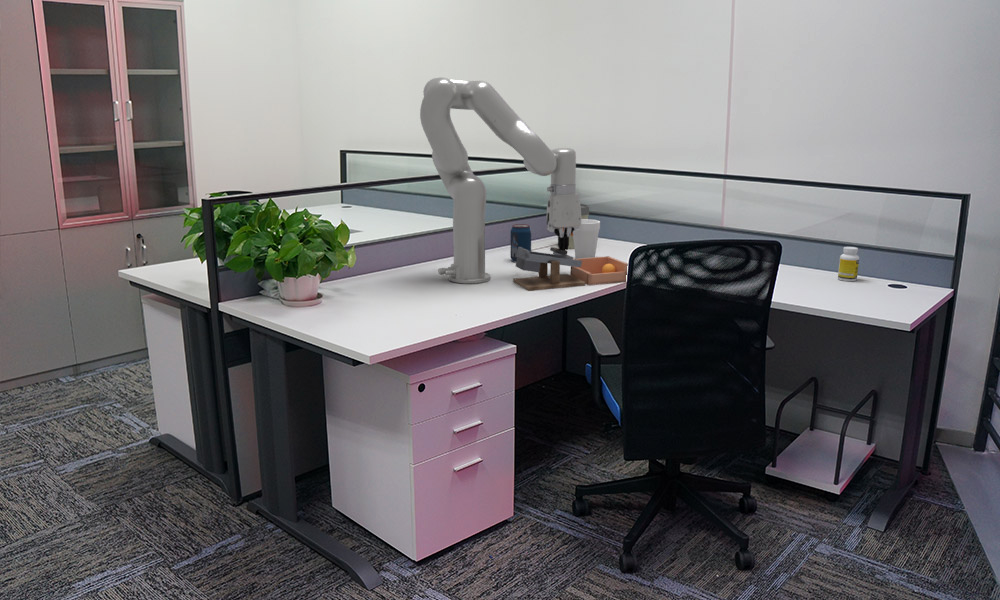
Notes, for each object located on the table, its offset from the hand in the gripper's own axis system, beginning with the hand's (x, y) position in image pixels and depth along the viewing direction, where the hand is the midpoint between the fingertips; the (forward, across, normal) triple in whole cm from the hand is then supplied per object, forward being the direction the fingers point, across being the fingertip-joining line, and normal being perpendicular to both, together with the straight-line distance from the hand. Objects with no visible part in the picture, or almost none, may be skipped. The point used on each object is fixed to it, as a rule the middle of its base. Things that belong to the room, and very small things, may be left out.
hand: (563, 249), depth 255 cm
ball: (+6, +10, -10) cm, 16 cm away
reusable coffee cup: (+8, +23, +41) cm, 48 cm away
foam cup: (+8, +16, +18) cm, 26 cm away
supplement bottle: (+10, +76, -38) cm, 86 cm away
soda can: (+8, -4, +24) cm, 26 cm away
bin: (+8, +7, -10) cm, 15 cm away
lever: (+4, -10, -6) cm, 12 cm away
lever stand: (+8, -10, -10) cm, 16 cm away
